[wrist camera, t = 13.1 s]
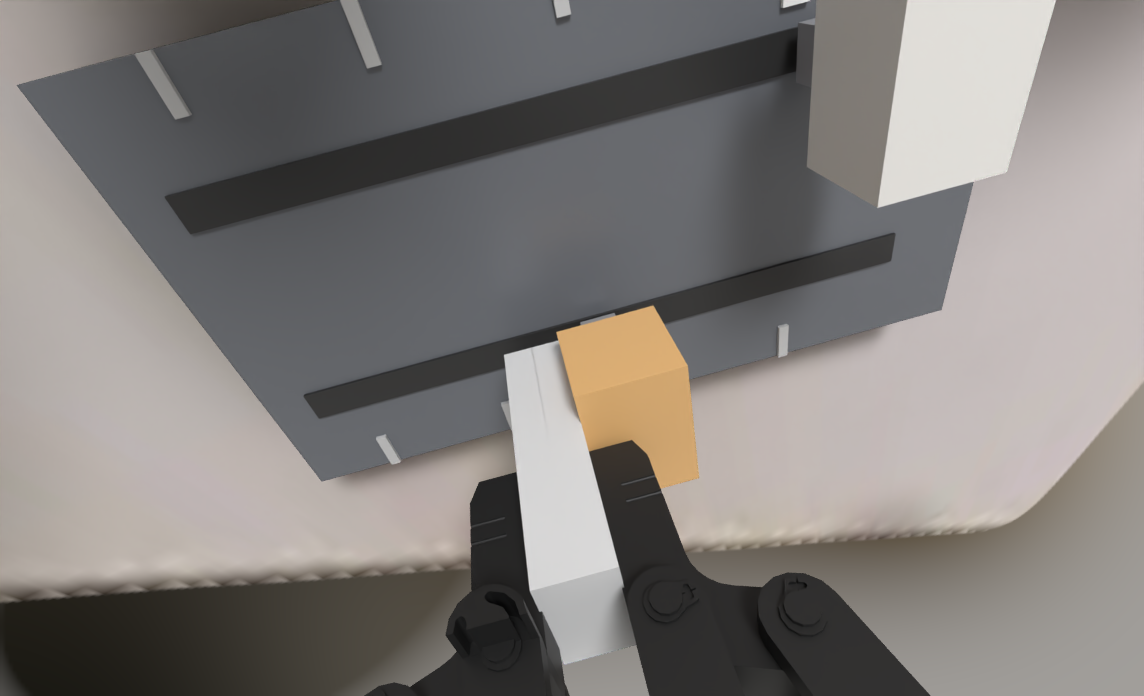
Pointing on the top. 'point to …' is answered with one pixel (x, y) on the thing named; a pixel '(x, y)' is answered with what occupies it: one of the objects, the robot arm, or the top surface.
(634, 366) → the fader orange
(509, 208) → the console
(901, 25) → the fader white
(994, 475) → the top surface
